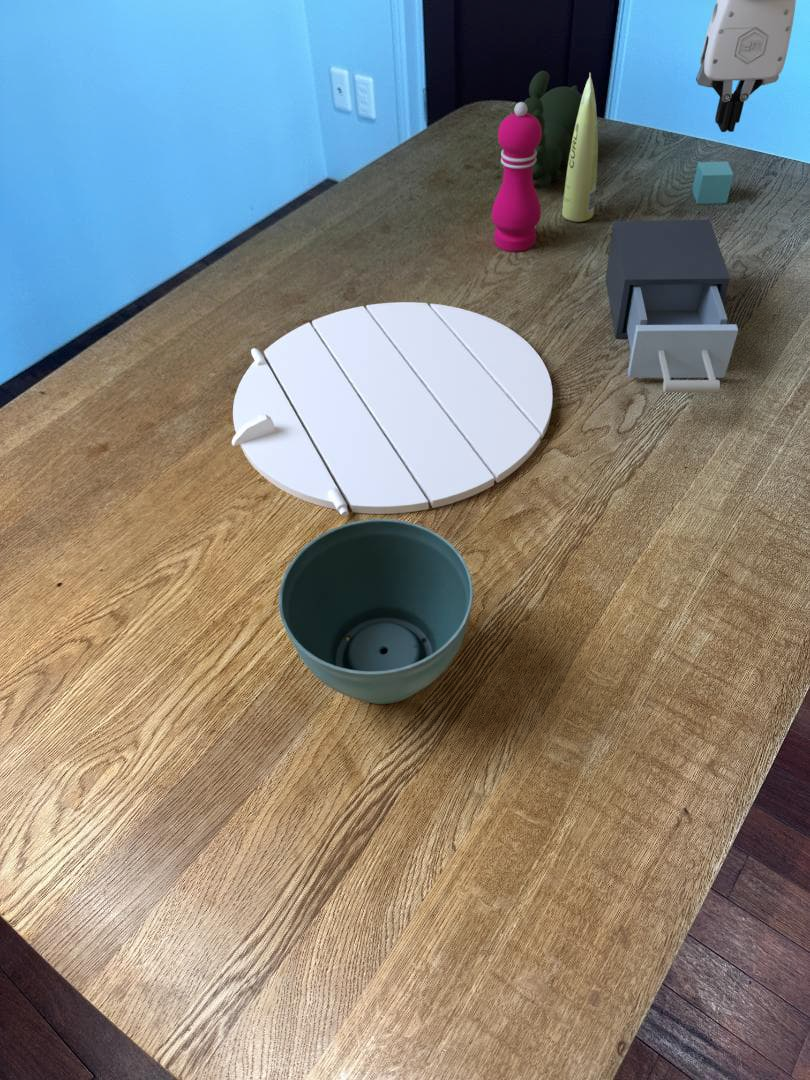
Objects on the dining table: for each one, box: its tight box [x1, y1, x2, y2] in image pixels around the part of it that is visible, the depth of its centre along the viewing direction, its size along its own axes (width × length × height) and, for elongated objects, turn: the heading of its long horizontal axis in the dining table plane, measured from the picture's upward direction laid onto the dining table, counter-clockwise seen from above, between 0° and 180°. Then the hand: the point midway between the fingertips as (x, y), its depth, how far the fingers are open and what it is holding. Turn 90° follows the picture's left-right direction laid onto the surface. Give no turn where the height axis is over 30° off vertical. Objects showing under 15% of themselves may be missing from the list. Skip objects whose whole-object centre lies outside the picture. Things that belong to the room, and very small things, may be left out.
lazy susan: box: [231, 301, 554, 518], centre depth 99 cm, size 40×39×3 cm
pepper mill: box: [491, 101, 542, 253], centre depth 116 cm, size 7×7×20 cm
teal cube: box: [691, 160, 734, 205], centre depth 128 cm, size 5×5×5 cm
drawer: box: [625, 284, 739, 394], centre depth 98 cm, size 21×11×7 cm, turn 176°
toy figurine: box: [522, 70, 583, 188], centre depth 133 cm, size 9×19×25 cm
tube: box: [561, 71, 599, 223], centre depth 121 cm, size 6×5×20 cm
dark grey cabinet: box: [605, 219, 731, 339], centre depth 107 cm, size 15×13×9 cm
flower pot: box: [278, 518, 474, 705], centre depth 71 cm, size 16×16×11 cm
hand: (725, 127), depth 115 cm, fingers closed
